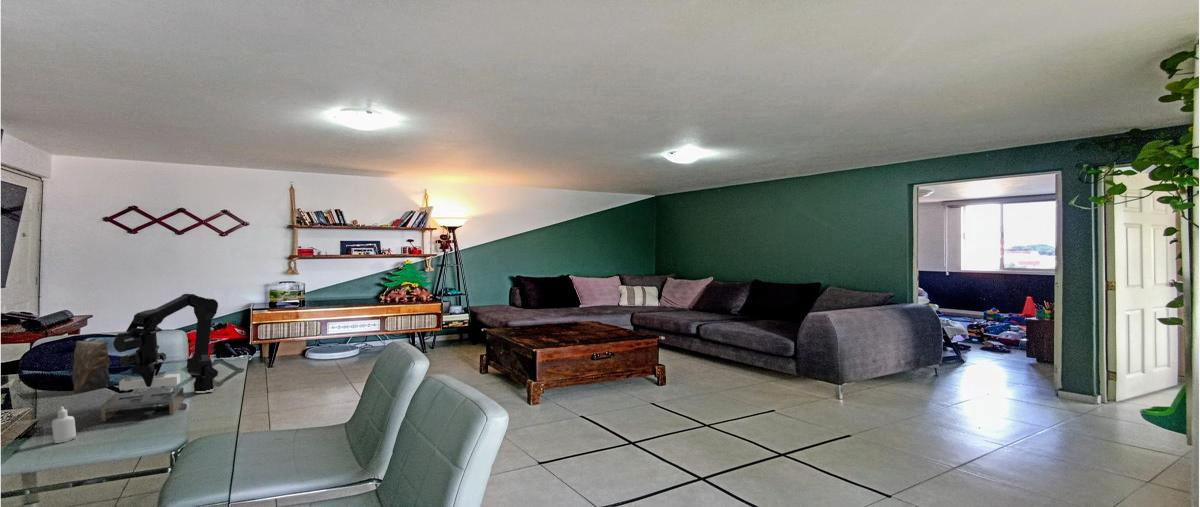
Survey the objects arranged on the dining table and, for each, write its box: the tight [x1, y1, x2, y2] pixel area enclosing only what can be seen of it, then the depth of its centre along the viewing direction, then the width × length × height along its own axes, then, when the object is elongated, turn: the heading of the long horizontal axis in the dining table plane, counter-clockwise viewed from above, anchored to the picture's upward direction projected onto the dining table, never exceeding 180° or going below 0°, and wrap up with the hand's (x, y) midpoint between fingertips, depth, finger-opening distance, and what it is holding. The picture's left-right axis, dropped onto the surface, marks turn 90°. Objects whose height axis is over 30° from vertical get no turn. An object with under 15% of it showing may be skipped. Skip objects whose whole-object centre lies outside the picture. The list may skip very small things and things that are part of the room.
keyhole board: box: [100, 386, 185, 423], centre depth 224 cm, size 22×14×6 cm, turn 112°
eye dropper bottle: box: [51, 406, 77, 440], centre depth 198 cm, size 4×6×12 cm
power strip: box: [118, 373, 181, 397], centre depth 225 cm, size 18×4×7 cm, turn 112°
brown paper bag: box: [71, 339, 111, 395], centre depth 249 cm, size 13×13×20 cm
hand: (150, 384), depth 225 cm, fingers closed on power strip, 4 cm apart
